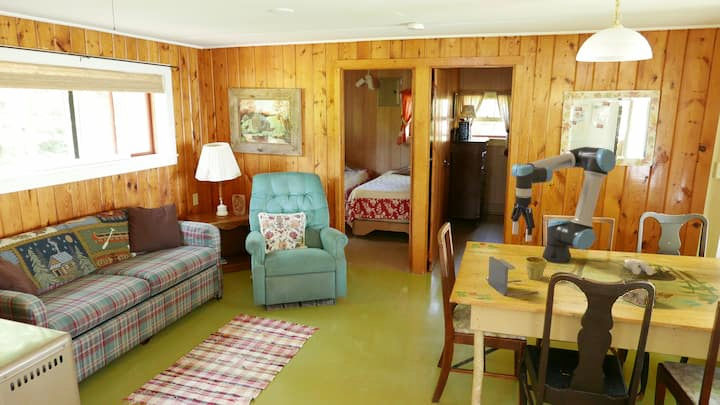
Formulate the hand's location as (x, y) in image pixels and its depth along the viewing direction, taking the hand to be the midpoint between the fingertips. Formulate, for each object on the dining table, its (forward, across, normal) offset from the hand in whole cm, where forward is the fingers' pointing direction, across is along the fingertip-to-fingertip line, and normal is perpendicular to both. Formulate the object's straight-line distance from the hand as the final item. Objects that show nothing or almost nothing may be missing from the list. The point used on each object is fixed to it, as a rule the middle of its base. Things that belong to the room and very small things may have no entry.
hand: (521, 237), depth 251 cm
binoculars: (+22, +4, +65) cm, 69 cm away
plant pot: (+21, +3, +6) cm, 22 cm away
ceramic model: (+22, +41, +36) cm, 58 cm away
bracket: (+21, +14, -10) cm, 27 cm away
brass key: (+21, -1, -15) cm, 25 cm away
